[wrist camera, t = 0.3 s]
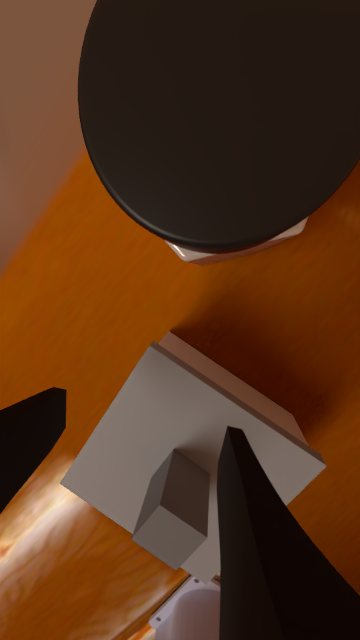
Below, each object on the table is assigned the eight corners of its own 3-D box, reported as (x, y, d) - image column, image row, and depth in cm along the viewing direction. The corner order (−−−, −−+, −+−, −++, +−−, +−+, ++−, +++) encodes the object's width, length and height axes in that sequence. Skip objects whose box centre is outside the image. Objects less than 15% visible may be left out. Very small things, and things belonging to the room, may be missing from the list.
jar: (308, 207, 17) (492, 80, 6) (218, 288, 19) (219, 317, 8) (221, 106, 17) (226, -250, 5) (138, 200, 19) (9, 88, 7)
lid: (206, 568, 19) (202, 671, 14) (67, 472, 19) (16, 541, 14) (320, 453, 16) (364, 534, 11) (153, 340, 16) (125, 371, 11)
